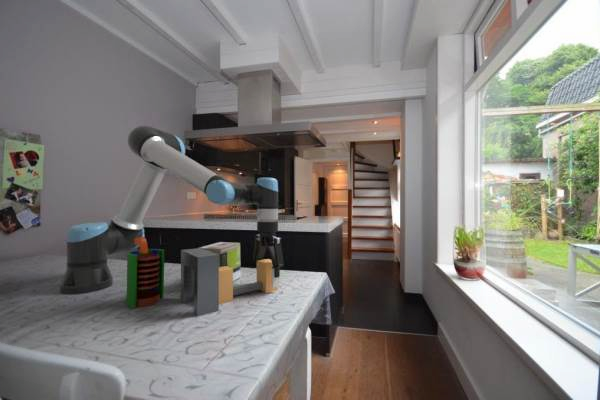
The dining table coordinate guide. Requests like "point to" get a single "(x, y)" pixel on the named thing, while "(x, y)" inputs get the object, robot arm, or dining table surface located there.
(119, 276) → the dining table surface
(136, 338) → the dining table surface
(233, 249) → the tea box
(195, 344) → the dining table surface
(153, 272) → the motor
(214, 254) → the housing
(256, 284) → the tan u-shaped piece
